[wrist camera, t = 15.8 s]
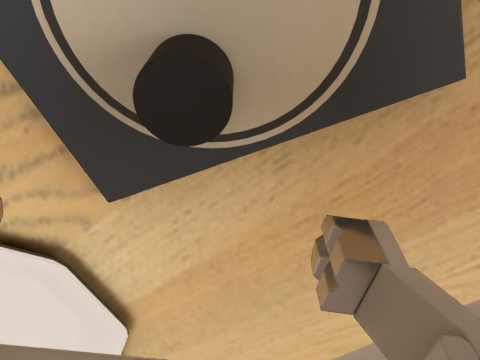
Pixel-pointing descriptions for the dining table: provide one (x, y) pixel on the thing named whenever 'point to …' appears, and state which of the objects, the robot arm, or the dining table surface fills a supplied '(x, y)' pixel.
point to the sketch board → (243, 64)
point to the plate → (53, 307)
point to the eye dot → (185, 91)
